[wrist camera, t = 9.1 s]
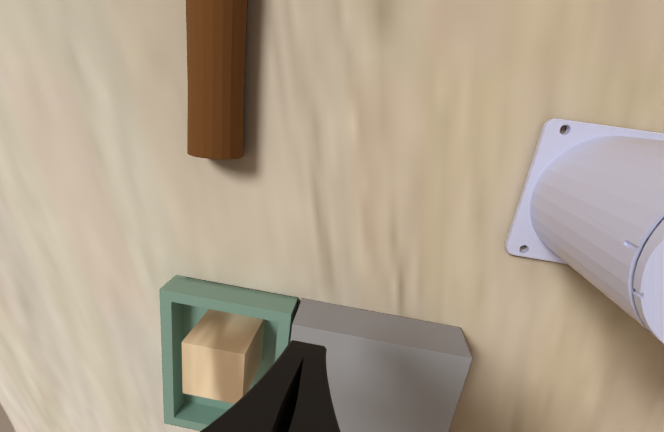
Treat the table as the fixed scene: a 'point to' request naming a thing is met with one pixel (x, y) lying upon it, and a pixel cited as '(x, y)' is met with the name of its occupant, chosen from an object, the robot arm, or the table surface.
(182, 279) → the box
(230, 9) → the hammer
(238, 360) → the maple block
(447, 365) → the slate plate
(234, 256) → the table surface
